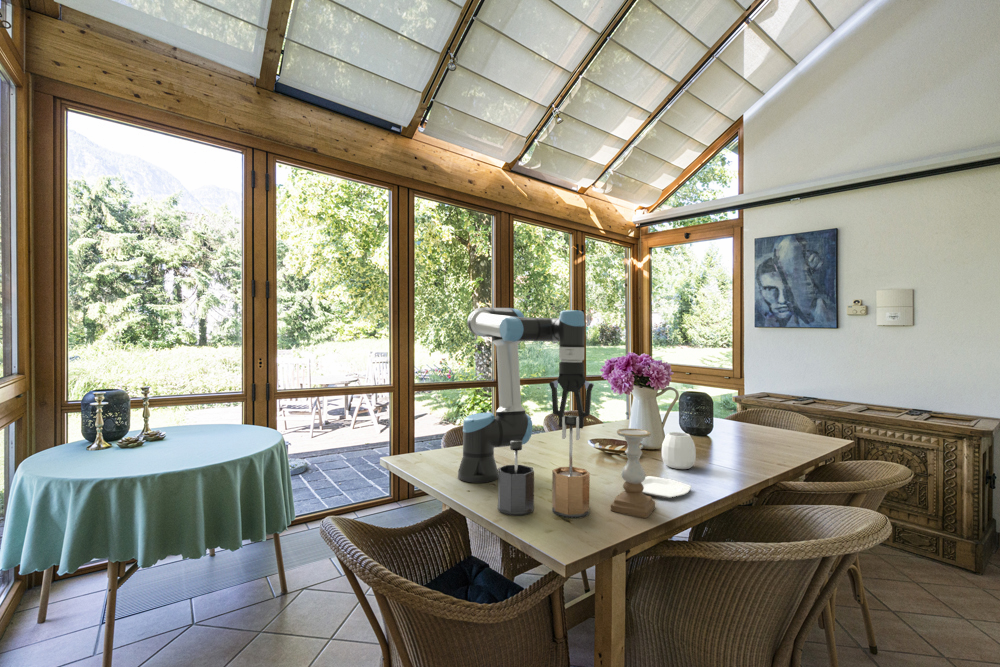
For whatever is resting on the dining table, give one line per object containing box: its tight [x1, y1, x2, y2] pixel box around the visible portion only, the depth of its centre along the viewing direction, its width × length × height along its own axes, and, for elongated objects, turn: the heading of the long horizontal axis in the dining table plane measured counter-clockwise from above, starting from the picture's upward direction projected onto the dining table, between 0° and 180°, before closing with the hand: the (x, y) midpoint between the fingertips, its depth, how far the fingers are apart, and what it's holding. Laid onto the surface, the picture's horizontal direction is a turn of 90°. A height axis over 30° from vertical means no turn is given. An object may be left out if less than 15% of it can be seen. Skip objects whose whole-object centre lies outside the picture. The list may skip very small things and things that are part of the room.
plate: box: [641, 475, 692, 499], centre depth 161 cm, size 19×19×2 cm
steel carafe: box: [497, 464, 535, 517], centre depth 143 cm, size 11×14×12 cm
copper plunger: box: [558, 415, 583, 476], centre depth 140 cm, size 8×8×19 cm
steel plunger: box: [509, 440, 523, 474], centre depth 142 cm, size 8×8×19 cm
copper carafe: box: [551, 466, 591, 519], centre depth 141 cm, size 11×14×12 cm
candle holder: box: [610, 428, 656, 519], centre depth 143 cm, size 11×11×24 cm
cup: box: [661, 431, 697, 470], centre depth 190 cm, size 13×13×14 cm
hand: (571, 438), depth 140 cm, fingers closed on copper plunger, 3 cm apart
